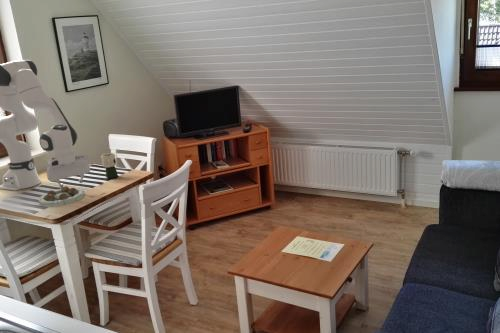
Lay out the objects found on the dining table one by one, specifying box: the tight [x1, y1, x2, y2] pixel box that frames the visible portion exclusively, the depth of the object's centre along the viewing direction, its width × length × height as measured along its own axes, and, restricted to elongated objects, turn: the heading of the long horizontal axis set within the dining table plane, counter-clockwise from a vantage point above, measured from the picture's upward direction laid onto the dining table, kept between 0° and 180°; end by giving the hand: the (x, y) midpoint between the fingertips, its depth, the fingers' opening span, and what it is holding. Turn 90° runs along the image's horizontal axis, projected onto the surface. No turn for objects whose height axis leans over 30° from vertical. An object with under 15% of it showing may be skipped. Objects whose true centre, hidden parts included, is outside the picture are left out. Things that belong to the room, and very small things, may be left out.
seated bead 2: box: [46, 194, 55, 201], centre depth 249 cm, size 4×4×4 cm
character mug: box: [100, 152, 119, 179], centre depth 280 cm, size 11×7×13 cm, turn 15°
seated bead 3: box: [59, 193, 68, 200], centre depth 248 cm, size 4×4×4 cm
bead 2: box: [68, 187, 77, 196], centre depth 256 cm, size 4×4×4 cm
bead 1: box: [60, 185, 70, 193], centre depth 259 cm, size 4×4×4 cm
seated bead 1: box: [46, 189, 56, 196], centre depth 255 cm, size 4×4×4 cm
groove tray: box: [38, 187, 85, 207], centre depth 254 cm, size 21×21×3 cm
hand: (71, 185), depth 255 cm, fingers open, 8 cm apart
